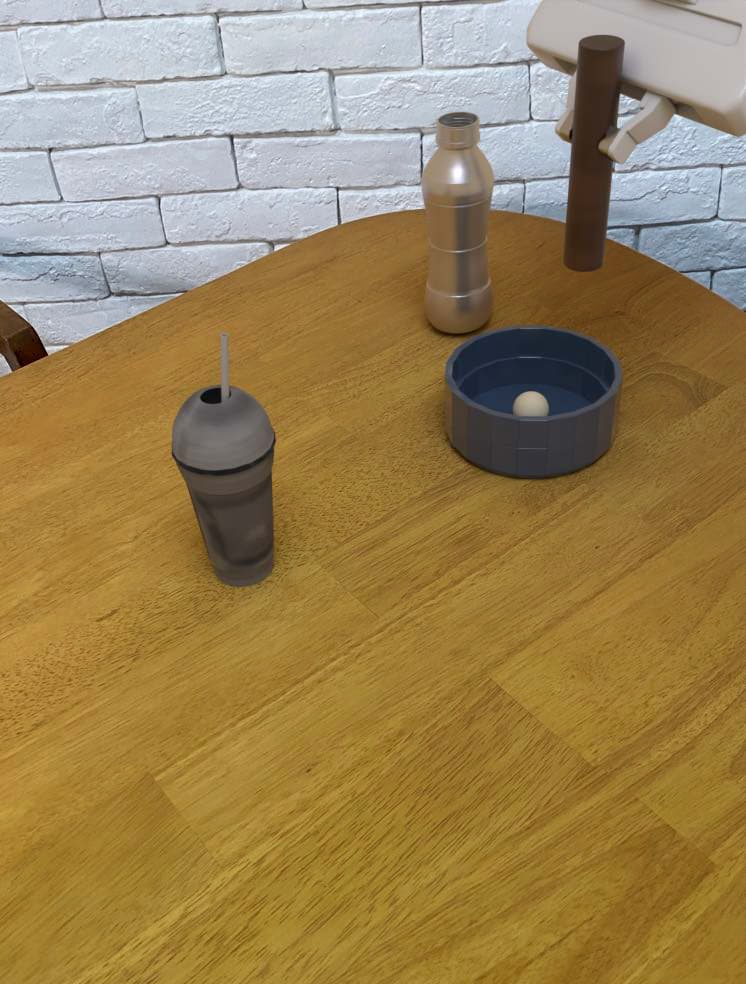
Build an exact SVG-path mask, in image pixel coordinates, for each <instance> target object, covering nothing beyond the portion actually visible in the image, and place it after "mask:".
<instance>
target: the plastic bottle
mask: <svg viewBox="0 0 746 984" xmlns="http://www.w3.org/2000/svg"><path fill="white" fill-rule="evenodd" d="M480 121H481V120H480V117H479V115H478V114H476V113H473V112H471V111H451V112H448V113H444V114H442V115H440V116H439V117H438V118H437V120H436V134H435V140H434V141H435V144H436V145H437V146H438V147H437V149H436V150H435V151H434V152H433V154H432V155H431V157H430V158H429V160H428V161H427V163H426V165H425V167H424V169H423V171H422V175H421V179H420V186H421V193H422V201H423V207H424V212H425V217H426V223H427V224H426V227H427V235H428V249H429V251H428V267H427V279H426V282H425V283H426V284H425V289H424V300H423V306H424V311H425V315H426V319H427V320H428V321H429V323H430V324H431V325H432V326H433V327H434V328H435V329H437V330H438V331H440V332H443V333H447V334H466V333H471V332H473V331H476V330H478V329H480V328H481V327H483V325H484V324H485V323H486V322H487V321H488V319H489V318H490V317H491V314H492V309H493V305H494V292H493V285H492V281H491V277H490V270H489V267H490V266H489V255H488V233H489V219H490V213H491V206H492V201H493V200H492V199H493V194H494V186H495V185H494V184H495V175H494V171H493V167H492V165H491V163H490V162H489V160H488V158H487V157H486V155H485V153H484V152H483V151H482V150H481V148H480V147H479V145H478V143H480V141H481V132H480Z"/></svg>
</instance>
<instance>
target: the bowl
mask: <svg viewBox="0 0 746 984" xmlns="http://www.w3.org/2000/svg"><path fill="white" fill-rule="evenodd" d="M623 380H624V376H623V370H622V363H621V361H620V360H619V358H618V357H617V356H616V354H615V353H614V352H613V350H612V349H611V348H609V347H608V346H607V345H606V344H604V343H602V342H601V341H599V340H597V339H596V338H594V337H593V336H590V335H587V334H584V333H583V332H580V331H579V332H578V331H576V330H575V329H570V328H565V327H559V326H552V325H547V324H519V325H518V324H517V325H511V326H504V327H497V328H494V329H490V330H488V331H485V332H482V333H480V334H476V335H474V336H472V337H470V338H469V339H467V340H466V341H464V342H463V343H461V344H460V345H459V346H457V347H456V348H454V350H453V351H452V353H451V354H450V356H449V357H448V359H447V360H446V362H445V371H444V431H445V433H446V436H447V437H448V439H449V441H450V444H451V446H453V447H454V448H455V450H456V451H457V452H458V453H459V454H460V455H461V456H462V457H463V458H464V459H465V460H467V461H468V462H470V463H471V464H473V465H474V466H476V467H478V468H480V469H482V470H485V471H487V472H490V473H493V474H496V475H500V476H504V477H509V478H514V479H515V478H516V479H526V480H528V479H529V480H530V479H531V480H536V479H538V480H540V479H551V478H557V477H561V476H566V475H569V474H573V473H575V472H578V471H581V470H583V469H584V468H586V467H588V466H590V465H592V464H594V463H595V462H596V461H597V460H598V459H600V458H601V457H602V455H603V454H605V453H606V452H607V451H608V450H609V449H611V448H610V447H611V446H612V444H613V442H614V439H615V437H616V435H617V432H618V425H619V415H620V408H621V407H620V405H621V397H622V388H623ZM529 391H533V392H538V393H540V394H541V395H543V396H544V397H545V399H546V400H547V402H548V405H549V413H548V416H518V415H513V404H514V402H515V400H516V399H517V397H518V396H519V395H521V394H522V393H525V392H529Z"/></svg>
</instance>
